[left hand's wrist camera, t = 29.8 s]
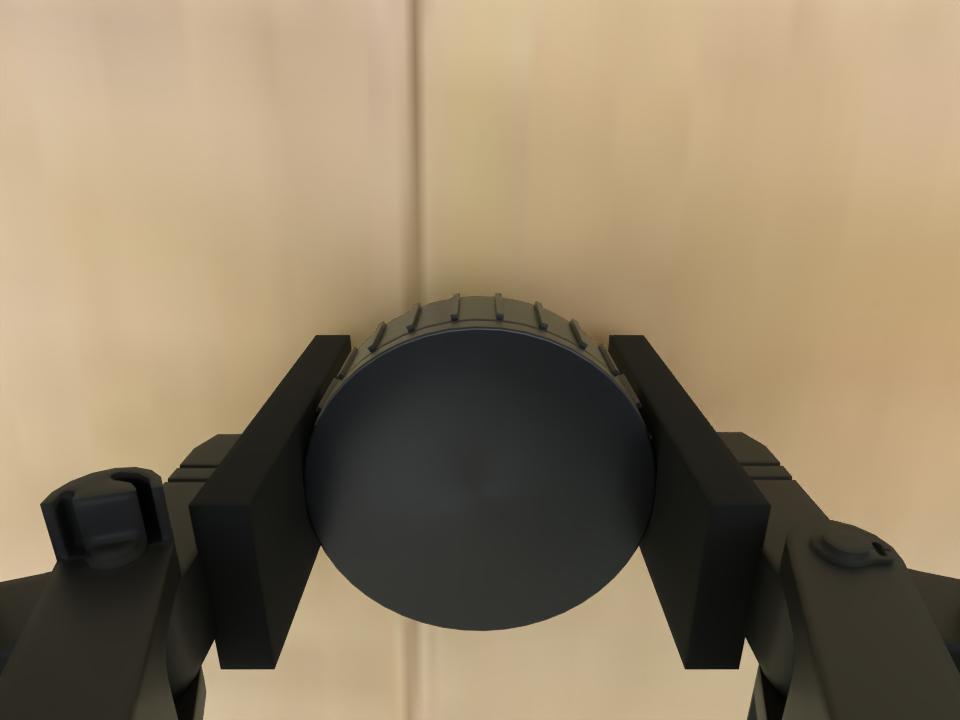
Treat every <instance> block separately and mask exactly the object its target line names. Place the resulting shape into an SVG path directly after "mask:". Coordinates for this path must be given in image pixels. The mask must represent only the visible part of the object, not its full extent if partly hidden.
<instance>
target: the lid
mask: <svg viewBox="0 0 960 720" xmlns="http://www.w3.org/2000/svg"><path fill="white" fill-rule="evenodd" d="M619 374H620V372H619V371H618V369H617V367H616V365H615V363H614V361H613V360H612V358H611V356H610V354H609V352H608V351H607V349H606V347H605V346H604V345H603V344H601V345H600V346H598V345H597V344H596V343H595V342H594V341H593V340H592V339H591V338H590V337H589V336H587V335H586V334H585V333H584V332H583V331H581V329H580V327H579V325H578V323H577V321H575V320H574V319H572V320H571V321H570V322H568V321H567V320H565V319H564V318H562V317H560V316H559V315H556V314H554V313H552V312H550V311H548V310H545V309H543V307H542V304H541V303H539V302H535V305H532V304H528V303H525V302H522V301H518V300H512V299H506V298H502V296H501V293H495V297H482V296H473V297H461V298H460V294H454V295H453V298H452V299H448V300H443V301H439V302H434V303H431V304H428V305H425V306H422V307H421V306H420V304H419V303H418V304H415V305H414V306H413V309H412V310H411V311H410V312H408V313H406V314H404V315H402V316H400V317H398V318H396V319H394V320H392V321H391V322H390V323H388V324H387V325H386V324H385V323H384V322H382V323H380V324H379V325H378V327H377V329H376V331H375V333H374V334H373V335H372V336H371V337H370V338H369V339H368V340H367V341H366V342H365V343H364V344H363V345H362V346H361V347H360V348H359V349H356V348H355V347H354V348H353V349H352V350H351V352H350V354H349V356H348V357H347V359H346V361H345V363H344V365H343V366H342V368H341V370H340V372H339V374H338V375H337V378H338V379H336V378H334V379H333V380H332V382H331V384H330V386H329V388H328V389H327V391H326V393H325V395H324V396H323V398H322V400H321V402H320V404H319V405H318V407H317V410H316V412H318V413H320V414H319V416H318V417H317V420H316V422H315V425H314V427H313V429H312V432H311V434H310V437H309V441H308V445H307V449H306V453H305V457H304V469H303V483H304V492H305V500H306V507H307V512H308V516H309V519H310V522H311V525H312V527H313V530H314V532H315V535H316V537H317V539H318V541H319V542H320V544H321V546H322V548H323V550H324V551H325V553H326V555H327V556H328V557H329V559H330V560H331V561H332V563H333V564H334V565H335V567H336V568H337V569H338V570H339V571H340V572H341V573H342V574H343V575H344V576H345V577H346V578H347V579H348V580H349V582H350V583H351V584H353V585H354V586H355V587H356V588H358V589H359V590H360V591H361V592H363V593H364V594H365V595H366V596H368V597H369V598H371V599H373V600H374V601H376V602H377V603H379V604H381V605H382V606H384V607H386V608H388V609H390V610H392V611H394V612H396V613H398V614H400V615H402V616H405V617H408V618H410V619H413V620H416V621H419V622H422V623H426V624H430V625H434V626H438V627H442V628H450V629H457V630H471V631H490V630H504V629H510V628H516V627H522V626H527V625H530V624H534V623H537V622H541V621H544V620H547V619H549V618H552V617H554V616H557V615H559V614H562V613H564V612H566V611H568V610H570V609H572V608H574V607H576V606H577V605H579V604H581V603H583V602H584V601H586V600H587V599H589V598H590V597H592V596H593V595H594V594H596V593H597V592H599V591H600V590H601V589H602V588H603V587H604V586H606V585H607V584H608V583H609V582H610V581H611V580H612V579H614V578H615V576H616V575H617V574H618V573H619V572H620V571H621V570H622V568H623V567H624V566H625V565H626V564H627V563H628V561H629V560H630V558H631V557H632V555H633V554H634V552H635V551H636V549H637V548H638V546H639V544H640V542H641V540H642V538H643V536H644V534H645V532H646V530H647V527H648V524H649V521H650V518H651V515H652V512H653V505H654V497H655V488H656V477H657V468H656V461H655V454H654V448H653V445H652V436H651V435H650V433H649V431H648V429H647V427H646V425H645V423H644V421H643V419H642V417H641V414H640V412H639V410H638V409H639V408H641V407H642V406H641V404H640V402H639V400H638V398H637V396H636V395H635V393H634V391H633V389H632V387H631V386H630V384H629V382H628V380H627V379H626V377H625V375H624V374H622V375H619Z"/></svg>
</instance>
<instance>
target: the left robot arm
mask: <svg viewBox="0 0 960 720" xmlns="http://www.w3.org/2000/svg"><path fill="white" fill-rule="evenodd" d="M350 352H351V340H350V335H316V336H315V338H314V339H313V340H312V342H311V343H310V344H309V346H308V347H307V348H306V350H305V351H304V352H303V354H302V355H301V356H300V357H299V359H298V360H297V361H296V363H295V364H294V365H293V367H292V368H291V369H290V371H289V372H288V373H287V375H286V376H285V377H284V379H283V380H282V381H281V383H280V384H279V385H278V387H277V388H276V389H275V391H274V392H273V393H272V395H271V396H270V397H269V399H268V400H267V401H266V403H265V404H264V405H263V407H262V408H261V409H260V411H259V412H258V413H257V415H256V416H255V417H254V419H253V420H252V421H251V423H250V424H249V425H248V427H247V428H246V429H245V431H244V432H243V433H242V434H218V435H216V436H214V437H213V438H211V439H209V440H208V441H206V442H204V443H203V444H201V445H199V446H198V447H196V448H194V449H193V450H192V452H191V453H190V454H189V455H188V456H187V457H186V459H185V460H184V461H183V462H182V463H181V464H180V468H177V469H176V470H175V471H174V472H173V474H172V475H171V476H170V477H169V478H168V482H165V483H164V484H163V485H162V480H161V477H160V476H159V475H158V474H156V473H155V472H153V471H152V470H148V469H143V468H138V467H128V468H113V469H109V470H104V471H99V472H95V473H91V474H88V475H86V476H83V477H81V478H78V479H75V480H73V481H70V482H68V483H67V484H65V485H63V486H62V487H60V488H58V489H57V490H55V491H53V492H52V493H51V494H50V495H49V496H48V497H47V498H46V499H45V500H44V501H43V502H42V503H41V504H40V506H41V509H42V512H43V516H44V519H45V522H46V526H47V529H48V532H49V536H50V539H51V542H52V546H53V549H54V552H55V556H56V559H57V562H56V564H55V566H54V568H53V571H51V572H47V573H44V574H39V575H34V576H29V577H24V578H19V579H14V580H9V581H4V582H0V720H203V714H204V706H205V698H206V687H205V681H204V675H203V671H202V666H201V665H202V663H203V661H204V659H205V657H206V655H207V653H208V651H209V649H210V647H211V645H212V643H213V641H214V640H215V642H216V647H217V652H218V657H219V662H220V667H221V669H275V667H276V664H277V661H278V659H279V656H280V653H281V651H282V648H283V645H284V643H285V640H286V637H287V634H288V632H289V629H290V626H291V624H292V621H293V618H294V616H295V613H296V610H297V608H298V605H299V602H300V599H301V597H302V594H303V591H304V589H305V586H306V583H307V581H308V578H309V575H310V573H311V570H312V567H313V565H314V562H315V559H316V556H317V554H318V551H319V548H320V546H321V544H320V542H319V541H318V539H317V537H316V535H315V532H314V530H313V527H312V525H311V522H310V519H309V516H308V512H307V507H306V500H305V492H304V483H303V469H304V457H305V453H306V449H307V445H308V441H309V437H310V434H311V432H312V429H313V427H314V425H315V422H316V420H317V417H318V416H319V414H320V413H318V412H316V410H317V407H318V405H319V404H320V402H321V400H322V398H323V396H324V395H325V393H326V391H327V389H328V388H329V386H330V384H331V382H332V380H333V379H334V378H336V379H338V378H337V375H338V374H339V372H340V370H341V368H342V366H343V365H344V363H345V361H346V359H347V357H348V356H349V354H350ZM608 352H609V354H610V356H611V358H612V360H613V361H614V363H615V365H616V367H617V369H618V371H619V372H620V374H619V375H622V374H624V375H625V377H626V379H627V380H628V382H629V384H630V386H631V387H632V389H633V391H634V393H635V395H636V396H637V398H638V400H639V402H640V404H641V406H642V407H641V408H639V409H638V410H639V412H640V414H641V417H642V419H643V421H644V423H645V425H646V427H647V429H648V431H649V433H650V435H651V436H652V445H653V448H654V454H655V461H656V468H657V477H656V488H655V497H654V505H653V512H652V515H651V518H650V521H649V524H648V527H647V530H646V532H645V534H644V536H643V538H642V540H641V542H640V544H639V547H640V549H641V552H642V555H643V558H644V560H645V563H646V566H647V568H648V571H649V574H650V576H651V579H652V582H653V584H654V587H655V590H656V592H657V595H658V598H659V601H660V603H661V606H662V609H663V611H664V614H665V617H666V619H667V622H668V625H669V627H670V630H671V633H672V636H673V638H674V641H675V644H676V646H677V649H678V652H679V654H680V657H681V660H682V662H683V665H684V668H685V669H739V665H740V660H741V655H742V650H743V645H744V640H745V637H746V639H747V641H748V643H749V645H750V647H751V649H752V651H753V653H754V655H755V657H756V659H757V661H758V663H759V666H758V671H757V675H756V680H755V685H754V689H753V694H752V699H751V703H750V708H749V713H748V717H747V720H960V579H955V578H950V577H945V576H940V575H935V574H930V573H925V572H920V571H916V570H912V569H908V568H907V567H906V565H905V563H904V561H903V560H902V558H901V557H900V556H899V555H898V554H897V552H896V551H895V550H894V549H893V547H891V546H890V545H889V544H887V543H886V542H884V541H883V540H881V539H880V538H879V537H877V536H876V535H874V534H872V533H869V532H867V531H865V530H863V529H860V528H858V527H856V526H853V525H849V524H845V523H841V522H837V521H833V520H829V518H828V517H827V516H826V515H825V514H824V513H823V512H822V510H821V509H820V508H819V507H818V506H817V505H816V504H815V502H814V501H813V500H812V499H811V498H810V497H809V495H808V494H807V493H806V492H805V491H804V490H803V489H802V487H801V486H800V485H799V484H798V483H797V482H796V481H795V480H792V476H791V475H790V474H789V472H788V471H787V470H786V469H785V468H784V467H783V466H780V462H779V461H778V460H777V459H776V458H775V456H774V455H773V454H772V453H771V452H770V451H769V450H768V448H767V447H766V446H764V445H763V444H761V443H759V442H758V441H756V440H754V439H753V438H751V437H749V436H747V435H746V434H744V433H742V432H716V431H715V430H714V429H713V427H712V426H711V425H710V423H709V422H708V421H707V419H706V418H705V417H704V415H703V414H702V413H701V411H700V410H699V409H698V407H697V406H696V405H695V403H694V402H693V401H692V399H691V398H690V397H689V395H688V394H687V393H686V391H685V390H684V389H683V387H682V386H681V385H680V383H679V382H678V381H677V379H676V378H675V377H674V375H673V374H672V373H671V371H670V370H669V369H668V367H667V366H666V365H665V363H664V362H663V361H662V359H661V358H660V357H659V355H658V354H657V353H656V351H655V350H654V349H653V347H652V346H651V345H650V343H649V342H648V341H647V339H646V338H645V337H644V335H609V348H608Z"/></svg>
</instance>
